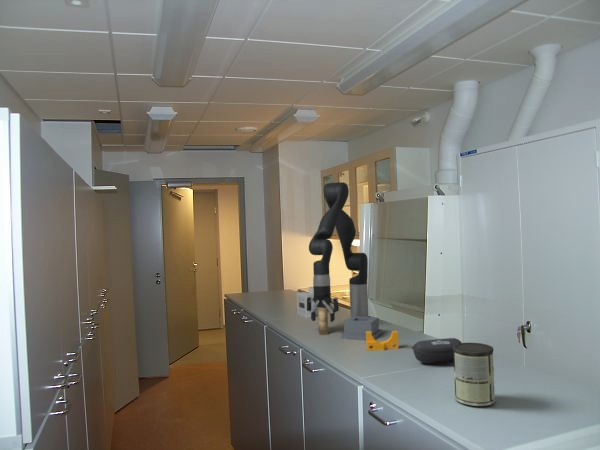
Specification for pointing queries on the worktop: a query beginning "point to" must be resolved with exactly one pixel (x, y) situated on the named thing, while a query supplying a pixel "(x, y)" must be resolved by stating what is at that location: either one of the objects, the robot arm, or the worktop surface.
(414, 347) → the glasses case
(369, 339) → the pipe clamp
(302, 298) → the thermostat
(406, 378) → the worktop surface
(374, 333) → the socket block
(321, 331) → the oak peg
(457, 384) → the coffee can
